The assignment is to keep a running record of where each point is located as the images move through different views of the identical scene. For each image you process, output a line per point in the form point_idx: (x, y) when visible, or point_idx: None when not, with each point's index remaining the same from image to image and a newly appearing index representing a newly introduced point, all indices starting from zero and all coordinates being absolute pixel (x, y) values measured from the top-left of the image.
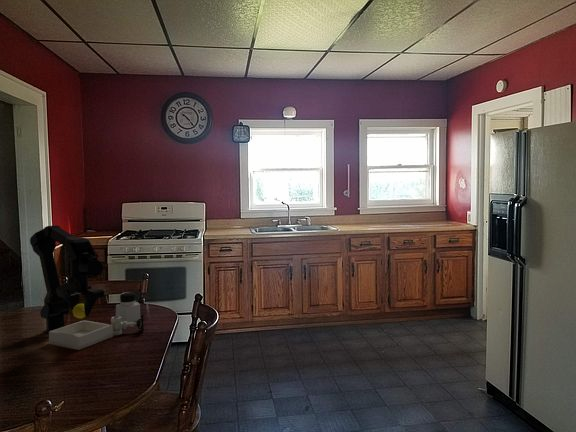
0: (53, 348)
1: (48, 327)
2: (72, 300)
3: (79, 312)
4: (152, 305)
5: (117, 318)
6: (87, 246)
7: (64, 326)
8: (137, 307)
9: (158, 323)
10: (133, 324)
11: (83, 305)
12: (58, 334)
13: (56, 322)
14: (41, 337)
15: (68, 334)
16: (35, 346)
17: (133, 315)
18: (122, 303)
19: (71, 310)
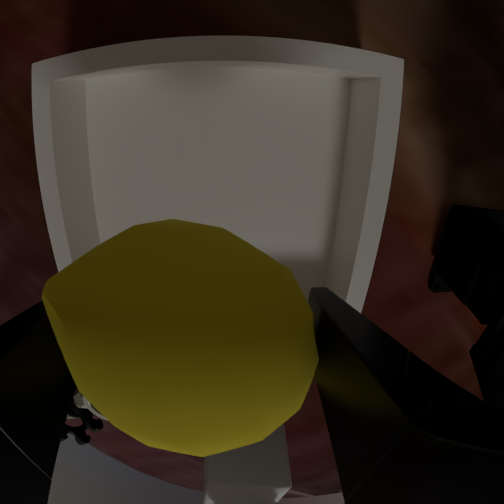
0: (259, 8)
1: (502, 226)
2: (391, 460)
3: (87, 261)
4: (289, 497)
5: (83, 396)
6: None
7: (386, 206)
8: (204, 491)
9: (118, 438)
10: (74, 393)
11: (96, 406)
12: (278, 40)
13: (485, 257)
14: (479, 151)
15: (157, 53)
16: (400, 12)
17: (206, 459)
18: (245, 500)
19: (354, 309)
